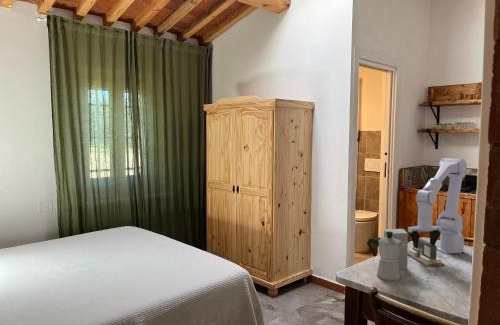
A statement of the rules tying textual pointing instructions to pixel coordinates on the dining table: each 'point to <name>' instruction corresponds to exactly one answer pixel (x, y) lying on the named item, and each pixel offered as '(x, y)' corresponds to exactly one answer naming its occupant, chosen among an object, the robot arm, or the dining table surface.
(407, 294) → the dining table surface
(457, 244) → the robot arm
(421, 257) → the display stand
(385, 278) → the coffee maker
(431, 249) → the grey upright panel
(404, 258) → the skincare box
